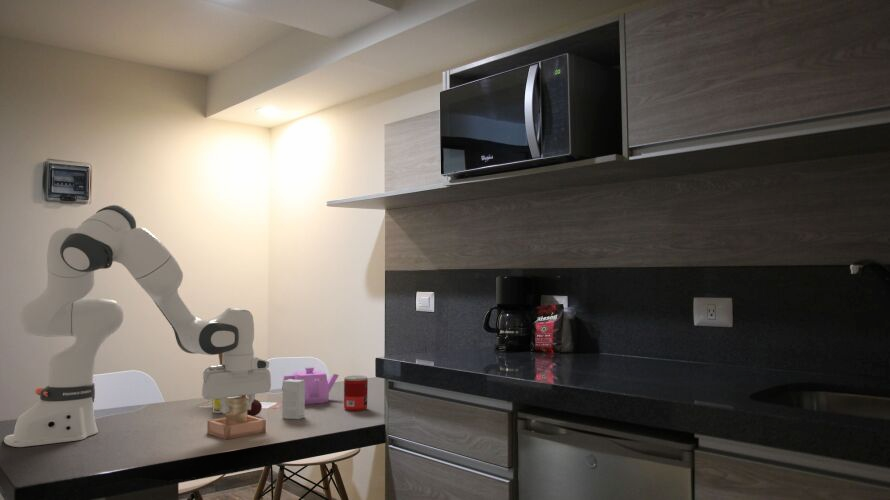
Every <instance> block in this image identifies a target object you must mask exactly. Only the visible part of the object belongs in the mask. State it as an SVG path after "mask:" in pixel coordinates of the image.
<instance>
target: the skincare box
mask: <svg viewBox="0 0 890 500" xmlns="http://www.w3.org/2000/svg"><path fill="white" fill-rule="evenodd" d="M282 384H283V391H282V413H281V415H282V417H281V418H282V419H285V420H286V419H289V420H300V419H302V418H305V416H306V415H305V414H306V413H305V412H306V411H305V409H306V406H305V405H306V404H305V380H292V379H288V380H285V381H283V380H282Z"/></svg>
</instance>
